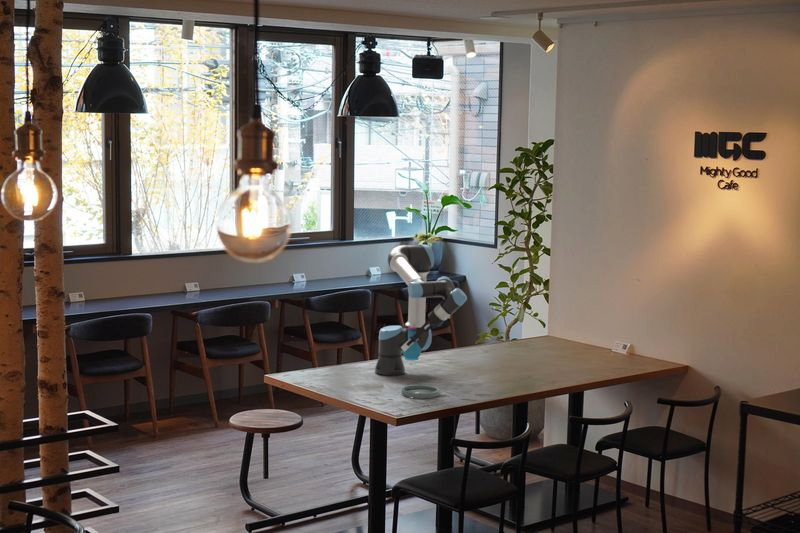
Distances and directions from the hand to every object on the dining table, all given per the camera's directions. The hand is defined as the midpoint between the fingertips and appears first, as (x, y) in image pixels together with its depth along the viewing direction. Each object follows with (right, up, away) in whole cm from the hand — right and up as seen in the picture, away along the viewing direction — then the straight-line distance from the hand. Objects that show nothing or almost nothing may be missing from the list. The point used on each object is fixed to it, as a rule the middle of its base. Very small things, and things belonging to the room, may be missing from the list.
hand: (404, 347), depth 482 cm
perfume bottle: (+3, -6, 0) cm, 6 cm away
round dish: (+7, -21, -6) cm, 23 cm away
